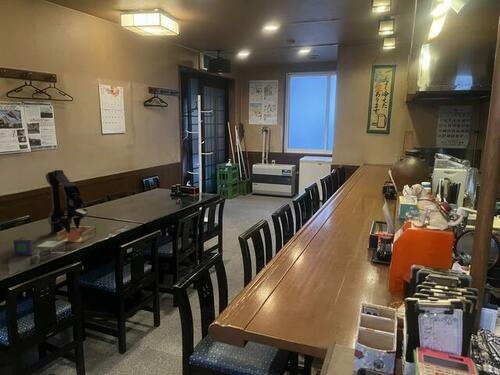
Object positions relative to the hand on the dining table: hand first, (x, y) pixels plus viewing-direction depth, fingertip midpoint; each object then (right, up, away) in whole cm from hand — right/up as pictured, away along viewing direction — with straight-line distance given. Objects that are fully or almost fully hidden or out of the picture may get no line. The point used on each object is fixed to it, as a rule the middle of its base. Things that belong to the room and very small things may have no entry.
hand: (73, 230), depth 214 cm
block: (0, -5, +1) cm, 6 cm away
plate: (-10, -8, -7) cm, 14 cm away
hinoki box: (0, -6, +5) cm, 8 cm away
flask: (-15, -11, -23) cm, 29 cm away
